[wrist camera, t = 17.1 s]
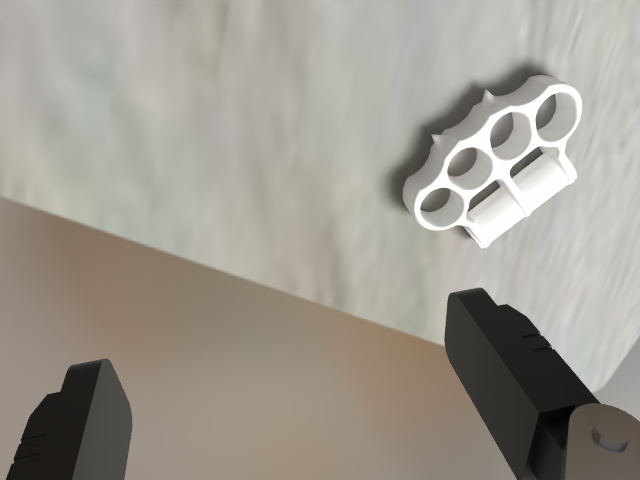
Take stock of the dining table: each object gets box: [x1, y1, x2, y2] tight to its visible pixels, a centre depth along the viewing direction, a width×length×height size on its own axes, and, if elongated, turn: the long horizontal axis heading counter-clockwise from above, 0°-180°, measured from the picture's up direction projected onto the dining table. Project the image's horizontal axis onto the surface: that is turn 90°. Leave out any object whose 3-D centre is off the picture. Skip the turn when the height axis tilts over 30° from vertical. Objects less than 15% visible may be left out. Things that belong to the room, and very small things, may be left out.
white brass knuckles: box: [403, 75, 582, 249], centre depth 46 cm, size 3×18×15 cm
